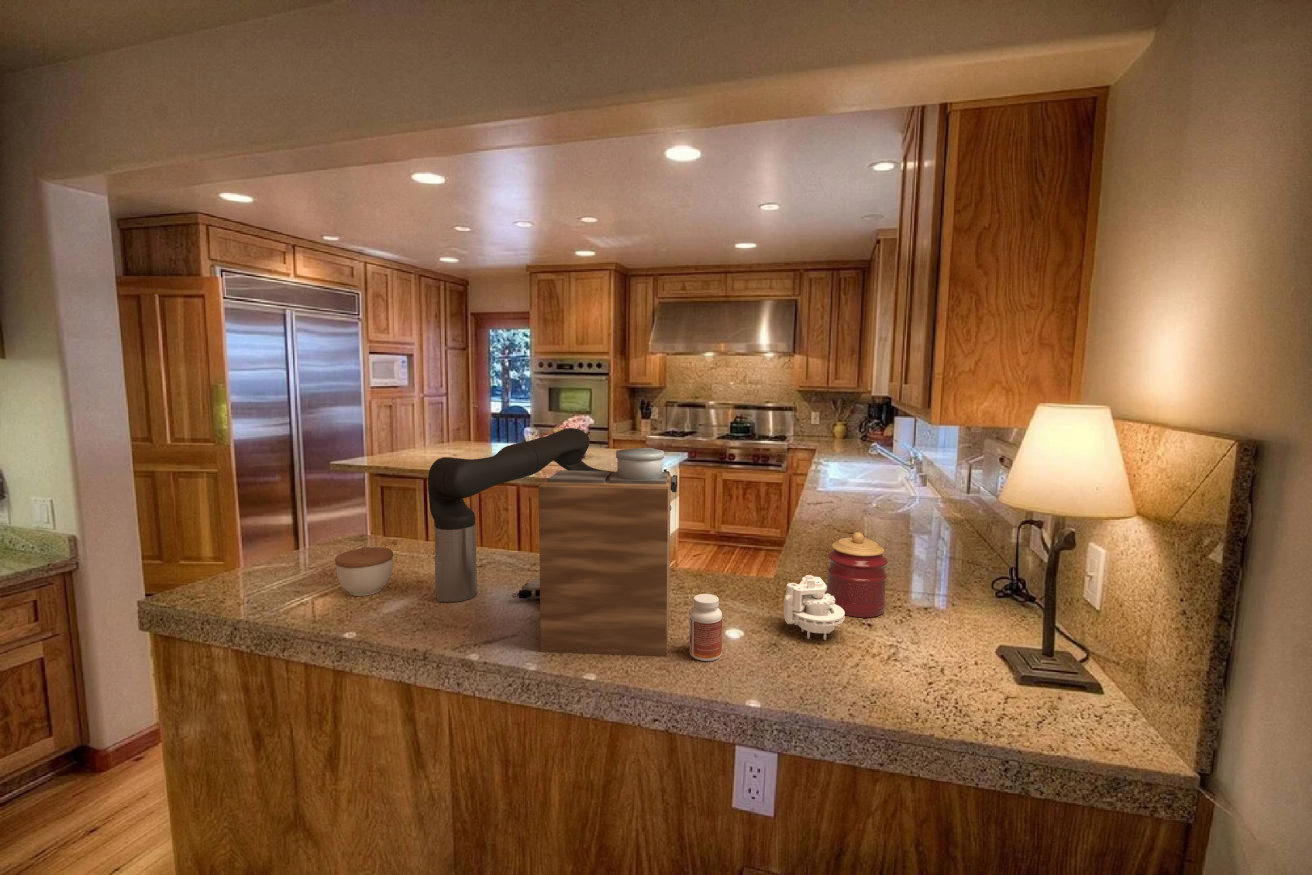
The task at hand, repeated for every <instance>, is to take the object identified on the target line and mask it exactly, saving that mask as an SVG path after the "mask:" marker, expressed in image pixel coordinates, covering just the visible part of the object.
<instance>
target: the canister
mask: <svg viewBox="0 0 1312 875" xmlns="http://www.w3.org/2000/svg"><path fill="white" fill-rule="evenodd" d="M831 548H832V550H831V551H829V552H828V553H827V559H829V565H828V566H827V583H826V585H827V590H826V592H825V594H827V593H828V594H830V595H831V596H833V597H834V599H835V603H834V604H836V605H838V606H840V607H841V608H842V609H843V610H844V612H845V615H844V616H848V617H853V618H874V617H878V616H881V615H883V614H884V612H885V608H886V603H887V602H886V587H887V586H886V584H887V577H888V576H887V574H888V573H887V572H886V565H888V563H889V561H888V558H886V557H885V556H884V555H883V554H884V553H885V549H884V548H883V547H882V546H881V545H879V544H878V543H877V542H876V541H874V540H871V539H869V538H865V536H864V534H863V533H862V532H859V531H858V532H857V531H856V532H854V533H853V534H852V536H851V537H842V538H840V539H838V540H837V541H835V542H833V543H832V544H831Z"/></svg>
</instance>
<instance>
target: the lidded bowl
mask: <svg viewBox="0 0 1312 875" xmlns="http://www.w3.org/2000/svg"><path fill="white" fill-rule="evenodd" d="M393 559H394V552H393V550H392V549H391V548H388V547H379V546H378V547H377V546H375V547H374V546H373V547H372V546H371V547H368V546H367V545H364V546H363V545H362V546H361V548H356V549H355V548H354V549H351V550H348V551H344V552H342V553H339V554H338V555H336V556H335V558H334V563H335V571H336V576H337V580H338V583H339V585H340V586H341V587H342V589H343V590H345V591H346V592H348V593H349V595H350V596H353V597H366V596H371V595H375V594H377V593H380V592H381V591H382V590H383V588H384V587H385V586H386V585H387V583H388V582H389V580H390V579H391V576H392V572H393V565H394V564H393V563H394V560H393Z"/></svg>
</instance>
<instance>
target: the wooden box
mask: <svg viewBox="0 0 1312 875" xmlns="http://www.w3.org/2000/svg"><path fill="white" fill-rule="evenodd" d="M612 471H613V470H606V471H569V470H566V469H565V470H564V469H563V470H561V469H560V470H558V471H557V472H555V474H553V475H551V476H550V477H549V478H547V479H546V480H545V481H544V482H543V483H541V484H540V485H538V540H539V541H538V546H539V550H538V552H539V553H538V554H539V578H540V599H539V619H540V620H539V621H540V626H539V627H540V628H539V629H540V630H539V632H540V652H541V653H560V654H561V653H567V654H594V655H596V654H597V655H621V656H623V655H624V656H647V657H648V656H650V657H667V650H668V638H669V627H670V599H671V598H670V587H671V585H670V582H671V580H670V578H671V577H670V576H671V574H670V573H671V572H670V571H671V570H670V569H671V568H670V567H671V511H670V505H671V502H672V501H671V495H672V490H671V476H672V474H670V475H668V472H664V471H662V477H661V478H658V479H652V480H629V479H622V478H619V477H618V476H617V470H616V471H614V472H615V473H614V474H612Z"/></svg>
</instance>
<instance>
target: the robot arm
mask: <svg viewBox="0 0 1312 875" xmlns="http://www.w3.org/2000/svg"><path fill="white" fill-rule="evenodd" d="M590 440H591V439H590V437H589V434H587V433H586V432H585V431H584V430H583V429H580V428H576V427H567V428H563V429H561V430H558V431H556V432H553V433H550V434H548V435H545V436H542V437H537V438H534V439H531V440H526V441H520V442H517V443H513V444H509V445H507V446H504V447H503V448H501V449H500V450H499V451H498V452H496V453H495V454H494V455H492V456H488V457H482V458H474V459H473V458H471V459H470V458H458V457H451V456H449V457H448V456H443V457H439V458H437V459H435V461H434V462H433V463H432V464H431V465H430V467H429V471H428V475H427V488H428V489H427V491H428V492H427V493H428V501H429V502H428V503H429V511H430V515H431V517H432V520H433V523H434V524H433V526H434V527H433V529H434V553H435V555H434V572H435V573H434V574H435V575H434V578H435V579H434V580H435V596H436V602H437V603H439V602H440V603H441V602H446V603H454V602H455V603H457V602H463V601H466V600H469V599H472V598H474V597H475V596H477V594H478V576H477V575H478V573H477V571H478V570H477V569H478V568H477V530H476V513H475V511H474V510H472V509H471V508H470V507H469V506H468V505H467V504H466V501H464V499H467V498H470V497H472V496H475V495H477V494H479V493H482V492H484V491H485V490H488V489H490V488H492V487H494V486H497V485H502V484H506V483H509V482H512V481H515V480H520V479H524V478H526V477H529V476H532V475H534V474H537V473H539V472H541V471H542V470H543V469H544V468H546V467H547V466H548V465H549V464H551V463H552V462H553V461H554V462H555V463H556V464H557V465H559V466H560V467H561V468H563V469H565V470H569V471H607V469H606V470H604V469H598V468H594V467H591V466H589V465H588V464H587V463H585V462H584V461H583V458H584V456H585V454H586V453H587V452H588V449H589V446H590V443H591V442H590ZM667 470H668V469H664V468H663V472H668V475H671V474H670V471H669V470H668V471H667ZM611 471H612V474H614V473H615V472H616V471H613V470H611ZM677 490H678V475H676V474H673V475H671V493H677ZM671 511H672V505H671V504H670V512H671Z"/></svg>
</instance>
